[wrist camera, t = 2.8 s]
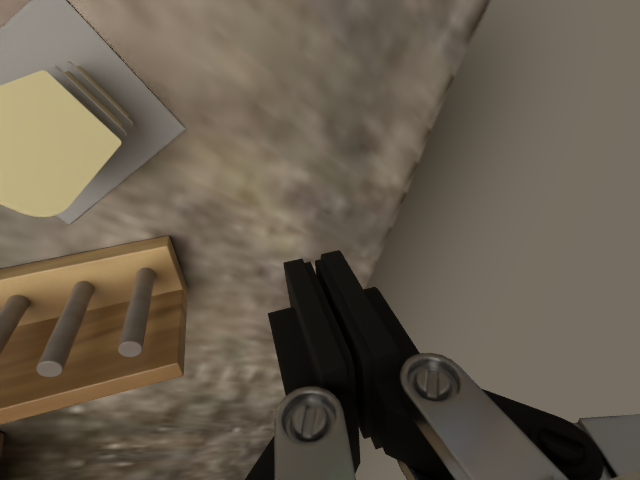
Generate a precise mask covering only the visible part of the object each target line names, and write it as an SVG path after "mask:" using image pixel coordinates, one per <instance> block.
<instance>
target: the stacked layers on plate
mask: <svg viewBox="0 0 640 480" xmlns="http://www.w3.org/2000/svg"><path fill="white" fill-rule="evenodd" d="M185 130H186V129H185V128H184V127H183V126H182V124H181V123H180V122H179V121H178V120H177V119H176V118H175V117H174V116H173V115H172V114H171V113H170V112H169V110H168V109H167V108H166V107H165V106H164V105H163V104H162V103H161V102H160V101H159V100H158V99H157V98H156V97H155V95H154V94H153V93H152V92H151V91H150V90H149V89H148V88H147V87H146V86H145V85H144V84H143V83H142V81H141V80H140V79H139V78H138V77H137V76H136V75H135V74H134V73H133V72H132V71H131V70H130V69H129V67H128V66H127V65H126V64H125V63H124V62H123V61H122V60H121V59H120V58H119V57H118V56H117V55H116V53H115V52H114V51H113V50H112V49H111V48H110V47H109V46H108V45H107V44H106V43H105V42H104V41H103V39H102V38H101V37H100V36H99V35H98V34H97V33H96V32H95V31H94V30H93V29H92V28H91V27H90V25H89V24H88V23H87V22H86V21H85V20H84V19H83V18H82V17H81V16H80V15H79V14H78V13H77V12H76V10H75V9H74V8H73V7H72V6H71V5H70V4H69V3H68V2H67V1H66V0H31V1H30V2H29V3H28V4H26V5H25V6H24V7H23V8H22V9H21V10H20V11H19V12H18V13H17V14H16V15H14V16H13V17H12V18H11V19H10V20H9V21H8V22H7V23H6V24H5V25H4V26H3V27H1V28H0V204H1V205H4V206H6V207H8V208H11V209H13V210H15V211H18V212H20V213H23V214H26V215H30V216H36V217H48V216H53V215H56V216H58V217H59V218H60V219H62V220H63V221H65V222H66V223H67V224H71V223H72V222H73V221H74V220H76V219H77V218H78V217H79V216H80V215H82V214H83V213H84V212H85V211H87V210H88V209H89V208H90V207H91V206H93V205H94V204H95V203H96V202H98V201H99V200H100V199H101V198H103V197H104V196H105V195H106V194H107V193H109V192H110V191H111V190H112V189H114V188H115V187H116V186H117V185H118V184H120V183H121V182H122V181H123V180H125V179H126V178H127V177H128V176H129V175H131V174H132V173H133V172H134V171H136V170H137V169H138V168H139V167H141V166H142V165H143V164H144V163H145V162H147V161H148V160H149V159H150V158H152V157H153V156H154V155H155V154H156V153H158V152H159V151H160V150H161V149H163V148H164V147H165V146H166V145H167V144H169V143H170V142H171V141H172V140H174V139H175V138H176V137H177V136H178V135H180V134H181V133H182V132H183V131H185Z"/></svg>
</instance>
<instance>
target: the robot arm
mask: <svg viewBox="0 0 640 480" xmlns="http://www.w3.org/2000/svg"><path fill="white" fill-rule="evenodd" d="M315 266H316V273H315V271H314V269H313V266H312V264H311V262H307V263H304V261H303V259H298V260H293V261H289V262H284V270H285V276H286V282H287V288H288V294H289V300H290V306H291V308H287V309H283V310H279V311H275V312H271V313H268V316H269V321H270V325H271V330H272V335H273V339H274V344H275V349H276V353H277V358H278V362H279V367H280V371H281V376H282V381H283V385H284V390H285V394H286V397H285V398H284V399H283V400H282V401H281V402H280V404H279V406H278V408H277V410H276V413H275V420H274V437H273V438H272V440H271V441H270V443H269V444H268V446H267V447H266V449H265V450H264V452H263V453H262V455H261V456H260V458H259V459H258V461H257V462H256V464H255V465H254V467H253V468H252V470H251V471H250V473H249V474H248V476H247V477H246V479H245V480H356V477H355V473H356V471H357V468H358V466H359V464H360V447H359V428H360V431H361V433H362V436H363V437H364V439H365V438H369V437H371V439H372V442H373V444H374V447H375V449H378V448H381V447H383V449H384V451H385V454H387V455H389V456H391V457H393V458H395V459H397V461H398V464H399V466H400V468H401V470H402V472H403V474H404V475H405V477H406V479H407V480H640V414H636V415H622V416H607V417H593V418H580V419H579V421H578V423H571V422H568V421H566V420H565V419H562V418H560V417H558V416H555V415H552V414H549V413H546V412H544V411H541V410H538V409H535V408H533V407H530V406H527V405H525V404H522V403H519V402H516V401H514V400H511V399H508V398H505V397H503V396H500V395H497V394H494V393H491V392H489V391H486V390H483V389H481V388H480V387H479V386H478V385H477V384H476V383H475V382H474V381H473V380H472V379H471V378H470V377H469V376H468V375H467V373H466V372H465V371H464V370H463V369H462V368H461V367H460V366H459V365H457V364H456V363H455V362H454V361H452V360H451V359H449V358H447V357H445V356H443V355H439V354H434V353H421V354H420V353H419V352H418V350H417V349H416V347H415V345H414V344H413V342H412V341H411V339H410V338H409V336H408V334H407V333H406V332H405V330H404V328H403V327H402V325H401V324H400V322H399V321H398V319H397V317H396V316H395V314H394V313H393V311H392V310H391V308H390V307H389V305H388V304H387V302H386V301H385V299H384V298H383V296H382V294H381V293H380V291H379V290H378V289H377V288H376V287H372V288H368V289H364V290H363V288H362V287H361V285H360V283H359V282H358V280H357V278H356V277H355V275H354V273H353V271H352V270H351V268H350V266H349V265H348V263H347V261H346V260H345V258H344V256H343V255H342V253H341V251H339V250H338V251H333V252H329V253H325V254H321V259H320V260H316V261H315ZM316 275H317V276H316Z"/></svg>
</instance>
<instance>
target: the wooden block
mask: <svg viewBox="0 0 640 480" xmlns="http://www.w3.org/2000/svg"><path fill="white" fill-rule="evenodd" d="M3 440H4V434H3V433H0V459H1V452H2V446H3Z"/></svg>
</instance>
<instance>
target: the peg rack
mask: <svg viewBox="0 0 640 480" xmlns="http://www.w3.org/2000/svg"><path fill="white" fill-rule="evenodd" d="M187 294H188V288H187V285H186V282H185V279H184V277H183V274H182V271H181V268H180V265H179V263H178V260H177V257H176V254H175V251H174V249H173V246H172V243H171V240H170V237H169V236H164V237H159V238H154V239H149V240H144V241H139V242H134V243H129V244H124V245H119V246H114V247H109V248H104V249H99V250H94V251H89V252H84V253H79V254H74V255H69V256H64V257H59V258H54V259H49V260H44V261H39V262H34V263H29V264H24V265H19V266H14V267H9V268H4V269H0V424H4V423H8V422H11V421H15V420H19V419H23V418H26V417H30V416H34V415H38V414H41V413H45V412H49V411H53V410H56V409H60V408H64V407H67V406H71V405H75V404H79V403H82V402H86V401H90V400H94V399H97V398H101V397H105V396H109V395H112V394H116V393H120V392H124V391H127V390H131V389H135V388H139V387H142V386H146V385H150V384H154V383H157V382H161V381H165V380H169V379H172V378H176V377H180V376H183V374H184V355H185V335H186V314H187Z"/></svg>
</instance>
